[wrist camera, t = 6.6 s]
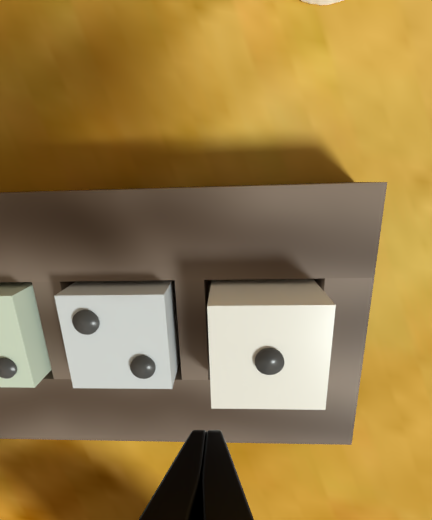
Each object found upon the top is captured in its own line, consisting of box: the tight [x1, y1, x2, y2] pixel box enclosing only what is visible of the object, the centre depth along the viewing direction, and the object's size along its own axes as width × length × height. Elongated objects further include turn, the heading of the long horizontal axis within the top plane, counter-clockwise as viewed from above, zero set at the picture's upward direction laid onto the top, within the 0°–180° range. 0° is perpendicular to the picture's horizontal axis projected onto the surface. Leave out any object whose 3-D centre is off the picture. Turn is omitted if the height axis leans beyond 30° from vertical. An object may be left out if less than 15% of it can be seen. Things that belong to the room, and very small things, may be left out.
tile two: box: [54, 280, 180, 389], centre depth 14 cm, size 5×5×3 cm
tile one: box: [207, 279, 336, 410], centre depth 13 cm, size 5×5×3 cm
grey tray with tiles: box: [0, 182, 387, 445], centre depth 15 cm, size 14×24×3 cm, turn 92°
